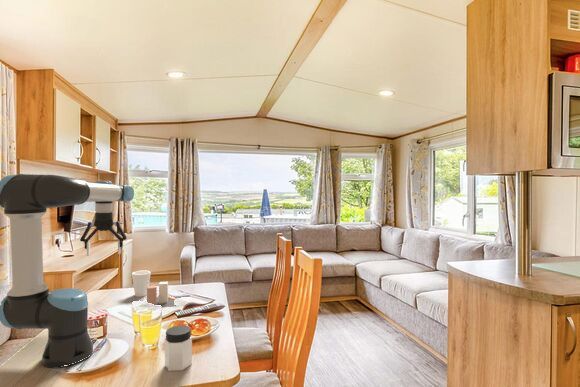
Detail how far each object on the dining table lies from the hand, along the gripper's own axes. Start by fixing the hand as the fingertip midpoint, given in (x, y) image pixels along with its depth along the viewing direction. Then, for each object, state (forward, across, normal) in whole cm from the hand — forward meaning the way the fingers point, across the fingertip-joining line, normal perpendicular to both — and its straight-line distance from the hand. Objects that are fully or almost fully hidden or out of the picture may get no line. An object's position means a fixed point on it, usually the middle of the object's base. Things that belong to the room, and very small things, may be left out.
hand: (104, 254), depth 166 cm
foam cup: (+27, -15, -15) cm, 34 cm away
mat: (+27, -30, +1) cm, 40 cm away
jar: (+27, -36, +66) cm, 80 cm away
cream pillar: (+26, -28, +1) cm, 38 cm away
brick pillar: (+26, -22, +6) cm, 35 cm away
